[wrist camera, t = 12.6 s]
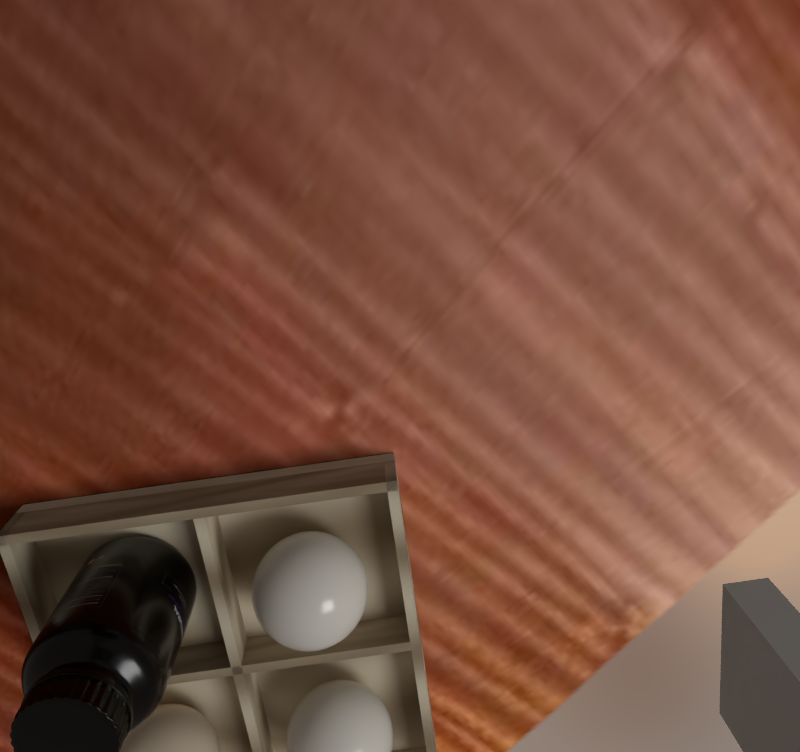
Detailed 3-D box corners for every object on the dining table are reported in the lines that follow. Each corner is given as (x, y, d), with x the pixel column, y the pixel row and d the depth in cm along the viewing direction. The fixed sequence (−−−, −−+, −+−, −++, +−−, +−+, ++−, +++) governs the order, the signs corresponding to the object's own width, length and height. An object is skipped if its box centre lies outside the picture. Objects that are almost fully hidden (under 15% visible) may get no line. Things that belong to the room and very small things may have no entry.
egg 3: (283, 664, 46) (271, 746, 40) (383, 650, 46) (387, 730, 40) (300, 742, 48) (292, 831, 42) (396, 728, 48) (402, 815, 42)
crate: (23, 504, 42) (-6, 536, 39) (394, 452, 42) (396, 480, 39) (118, 784, 50) (101, 831, 46) (435, 739, 50) (440, 783, 46)
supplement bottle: (222, 592, 44) (177, 756, 33) (133, 646, 45) (58, 824, 33) (149, 509, 42) (73, 655, 30) (56, 567, 43) (-51, 730, 31)
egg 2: (250, 518, 42) (232, 584, 36) (359, 502, 42) (359, 566, 36) (270, 609, 44) (256, 685, 38) (374, 594, 44) (376, 668, 38)
